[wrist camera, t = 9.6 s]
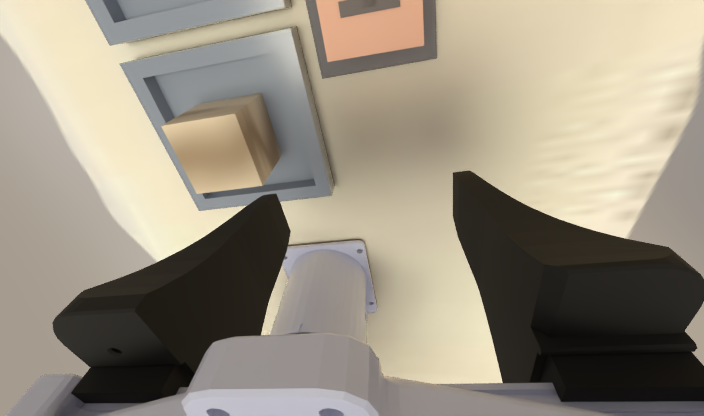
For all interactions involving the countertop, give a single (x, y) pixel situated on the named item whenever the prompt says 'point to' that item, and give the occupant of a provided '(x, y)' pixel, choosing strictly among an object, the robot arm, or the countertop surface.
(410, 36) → the letter cube
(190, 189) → the dish
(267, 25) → the countertop surface
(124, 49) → the countertop surface
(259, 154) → the plain cube
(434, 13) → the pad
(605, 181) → the countertop surface
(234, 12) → the dish
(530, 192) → the countertop surface
